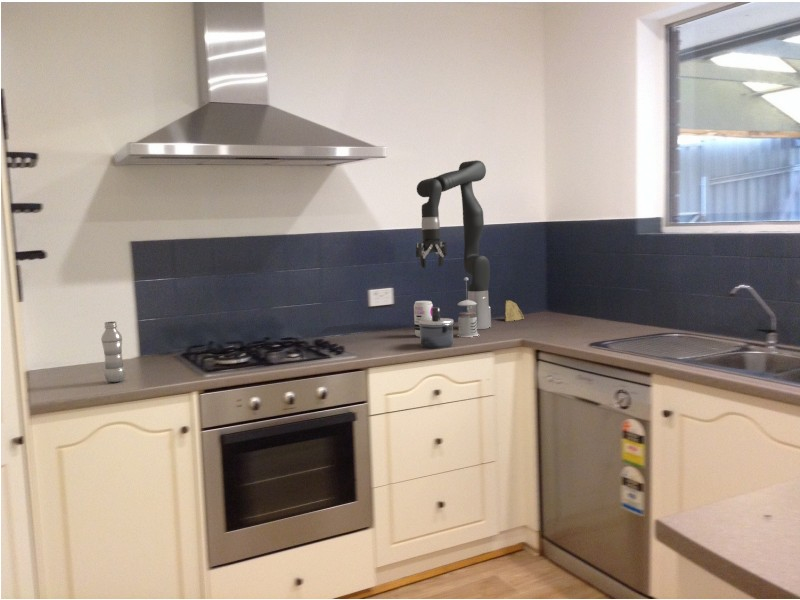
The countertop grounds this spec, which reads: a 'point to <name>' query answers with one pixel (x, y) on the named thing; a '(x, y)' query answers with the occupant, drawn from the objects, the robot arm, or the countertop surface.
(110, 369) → the plastic bottle
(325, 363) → the countertop surface
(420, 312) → the supplement can
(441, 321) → the lid
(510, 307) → the yellow wedge
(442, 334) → the pot
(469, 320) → the french press
